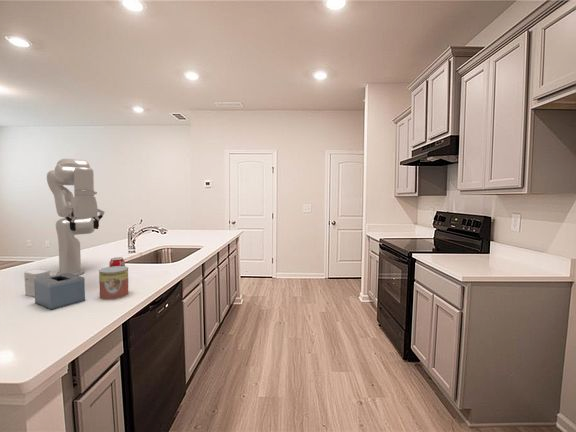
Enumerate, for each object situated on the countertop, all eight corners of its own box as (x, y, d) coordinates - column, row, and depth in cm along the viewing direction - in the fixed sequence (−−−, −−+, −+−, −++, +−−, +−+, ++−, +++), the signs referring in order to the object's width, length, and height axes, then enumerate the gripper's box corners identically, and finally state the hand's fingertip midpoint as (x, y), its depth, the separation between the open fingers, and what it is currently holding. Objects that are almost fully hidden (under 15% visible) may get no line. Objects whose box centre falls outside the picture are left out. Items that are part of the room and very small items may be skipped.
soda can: (118, 283, 145) (117, 260, 144) (106, 282, 146) (105, 259, 146) (128, 279, 152) (128, 257, 151) (117, 278, 153) (116, 256, 153)
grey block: (35, 302, 118) (34, 279, 117) (68, 294, 128) (67, 272, 127) (51, 310, 111) (50, 285, 110) (85, 300, 121) (84, 277, 121)
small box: (51, 293, 129) (50, 270, 128) (36, 297, 123) (35, 274, 123) (39, 291, 131) (38, 269, 131) (25, 295, 126) (23, 272, 125)
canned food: (97, 301, 121) (97, 273, 120) (101, 293, 131) (100, 267, 130) (128, 297, 126) (127, 270, 125) (129, 289, 136) (128, 265, 135)
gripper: (99, 193, 144) (100, 227, 146) (58, 193, 129) (59, 230, 131) (107, 194, 140) (108, 228, 142) (66, 194, 125) (67, 232, 127)
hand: (84, 229), depth 136 cm, fingers open, 9 cm apart
